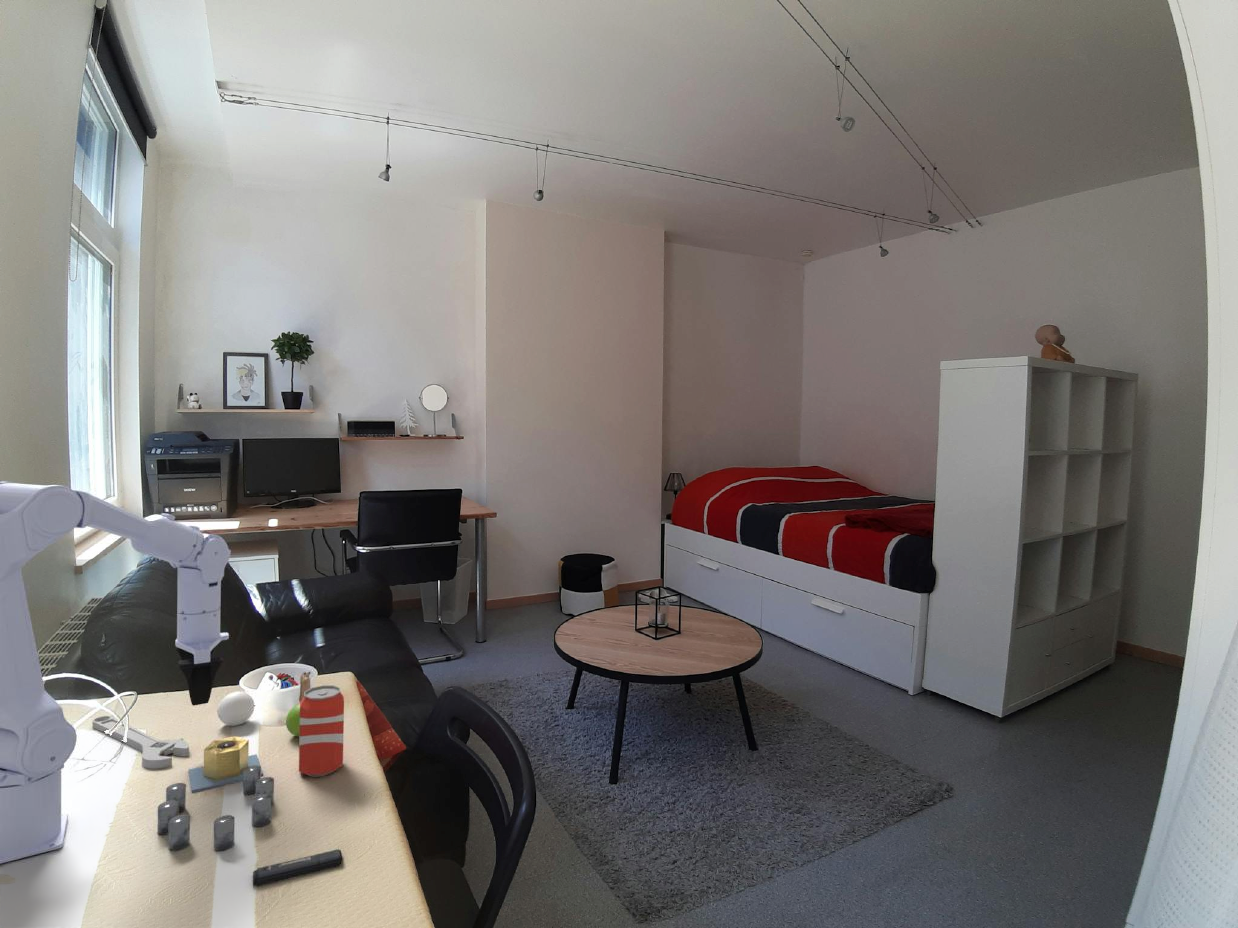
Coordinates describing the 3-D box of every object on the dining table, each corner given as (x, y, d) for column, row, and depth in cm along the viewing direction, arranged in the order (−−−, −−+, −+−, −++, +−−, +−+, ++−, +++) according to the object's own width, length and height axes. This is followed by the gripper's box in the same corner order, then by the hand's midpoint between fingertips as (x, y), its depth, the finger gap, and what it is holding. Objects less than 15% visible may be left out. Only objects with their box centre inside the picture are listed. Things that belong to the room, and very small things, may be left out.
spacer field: (159, 869, 77) (159, 842, 77) (156, 811, 88) (156, 787, 88) (284, 832, 84) (284, 808, 84) (267, 783, 96) (267, 761, 96)
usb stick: (341, 856, 81) (341, 843, 81) (343, 869, 78) (343, 856, 78) (253, 877, 76) (253, 864, 76) (252, 891, 74) (252, 878, 74)
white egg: (259, 724, 115) (260, 692, 115) (223, 734, 111) (224, 701, 111) (243, 711, 120) (244, 680, 120) (208, 720, 116) (208, 688, 116)
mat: (191, 792, 93) (191, 790, 93) (188, 771, 99) (188, 769, 99) (263, 774, 98) (263, 773, 98) (256, 755, 104) (256, 753, 104)
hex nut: (204, 783, 95) (205, 756, 95) (202, 768, 99) (202, 742, 99) (250, 772, 98) (250, 746, 98) (246, 758, 102) (246, 733, 102)
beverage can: (342, 756, 105) (343, 681, 104) (343, 775, 99) (344, 696, 98) (299, 762, 102) (301, 686, 102) (298, 782, 96) (299, 702, 96)
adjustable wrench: (88, 728, 112) (88, 718, 112) (132, 716, 118) (132, 706, 118) (151, 773, 98) (151, 762, 98) (198, 757, 104) (198, 746, 103)
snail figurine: (287, 747, 107) (288, 674, 107) (284, 731, 113) (285, 662, 112) (323, 740, 110) (324, 669, 109) (319, 725, 115) (320, 657, 115)
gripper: (234, 617, 100) (233, 705, 100) (224, 596, 111) (223, 676, 112) (177, 623, 95) (177, 715, 96) (173, 601, 107) (172, 684, 108)
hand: (198, 695), depth 104 cm, fingers open, 7 cm apart
